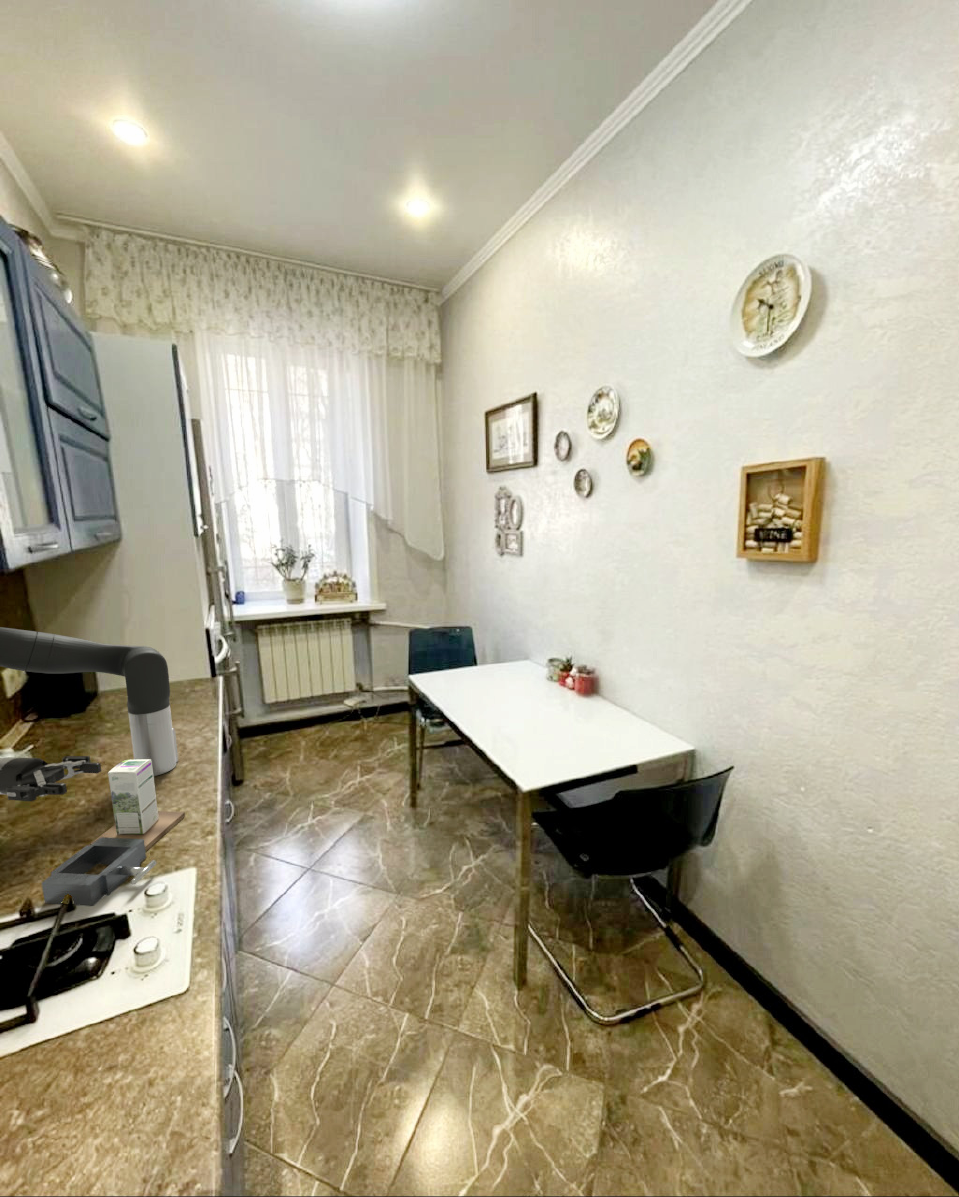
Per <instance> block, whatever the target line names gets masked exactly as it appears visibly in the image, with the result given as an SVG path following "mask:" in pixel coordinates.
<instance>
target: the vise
mask: <svg viewBox="0 0 959 1197" xmlns="http://www.w3.org/2000/svg"><path fill="white" fill-rule="evenodd" d="M146 858H147V851H145V844H144V839H128V838H107V837H101V838H99V839H98V840H97V841H96V842H94V843H93V844H92V845H90V844H89V845H88V844H87V845H85V846H84V847H83V848H81V849H80V850H79V851H77V852H76V853H75V854H73V855H71V857H69V858H68V859H67V860H66V861H64V862H62V863H61V864H60V865H59V866H57V867H56V868H55V869H53V870H52V871H51V872H50V874H51V875H49V876H48V877H47V878H45V880H43V881H42V882H41V887H42V894H43V901H44V904H50V905H51V904H54V905H62V904H61V902H62V901H63V899H64V897H65V895H67V894H69V895H71V896H72V898H73V901H74V904H75V905H74V906H87V907H94V906H96V905H95V904H97V903H98V902H100V901H101V899H102V898H104V897H105V896H110V895H111V894H113V892H114V891H116V890H117V889H118V888H119V887H120V886H121V885H122V884H123V883H124V882H126V881H127V879H128V878H129V877H131V876H134V877H133V878H132V879H131V880H130V884H131V885H133V886H134V885H136V884H137V883H138V882H139V881H140V880H141V879H142V878H143V877H144V876H146V875H147V874H148V873H149V871H151V870H152V869H153V868H154V867H155V866H156V865H157V861H156V860H155V859H153V860H151V861H150V862H149V863H148V864H146V866H145V867H141V863H142V862H143V861H144V860H145V859H146ZM97 865H103V866H104V865H108V866H107V867H106V868H104V869H103V870H102V871H101V872H100V873H99V874H87V873H88V872H89V871H90V870H91V869H92V868H94V867H96V866H97Z"/></svg>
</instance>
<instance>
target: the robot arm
mask: <svg viewBox="0 0 959 1197" xmlns="http://www.w3.org/2000/svg"><path fill="white" fill-rule="evenodd" d="M0 667H2V668H6V669H10V670H14V671H15V670H16V671H19V672H20V671H21V672H22V671H23V672H31V673H38V674H39V673H41V674H52V675H53V674H55V675H56V674H59V675H60V674H75V673H85V672H86V673H87V672H88V673H90V672H91V673H92V672H93V673H102V674H109V675H114V676H118V677H119V676H120V677H124V679H125V680H124V681H125V685H126V693H127V694H126V695H127V703H126V706H127V713H128V721H129V728H130V737H131V746H132V754H133V760H138V759H151V761H152V767H153V776H154V777H156V776H160V775H163V774H165V773H168V772H169V771H172V770H173V769H174V768H176V766H177V763H178V762H179V754H178V752H179V751H178V743H177V736H176V734H177V733H176V729H175V728H173V721H172V712H171V704H170V696H171V686H170V675H169V674H170V673H169V667H168V663H167V660H166V659H165V657H164V656H163V654H161V653H160V652H159V651H158V650H156V648H152V647H150V646H145V645H126V644H125V645H122V644H110V643H104V642H103V643H101V642H100V643H99V642H96V641H92V640H87V639H82V638H78V637H74V636H73V637H72V636H66V635H62V634H55V633H50V632H49V633H48V632H41V631H34V630H26V629H25V630H24V629H17V628H11V627H10V628H9V627H1V626H0ZM65 769H66V770H67V772H68V773H66V774H65ZM101 772H102V764H101V763H100V762H93V761H92V762H91V756H89V755H87V756H86V755H84V756H83V755H81V756H80V755H79V756H77V755H73V756H69V755H68V756H63V757H62V761H61V762H58V763H57V762H55V763H54V762H52V763H48V762H46V761H45V760H43V759H41V758H37V757H13V756H11V757H0V795H7V799H8V801H20V802H21V801H22V802H34V801H36V800H37V798H38V797H40V798H41V797H45V796H47V795H53V796H57V795H59V796H60V795H61V796H63V795H65V794H66V793H68V791H67V790H68V788H67V785H66V783H64V782H58V781H61V780H67V779H71V778H73V777H74V776H75V775H78V774H99V773H101Z"/></svg>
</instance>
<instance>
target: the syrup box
mask: <svg viewBox="0 0 959 1197" xmlns="http://www.w3.org/2000/svg"><path fill="white" fill-rule="evenodd" d="M107 777H108V782H109V789H110V796H111V802H112V804H111V805H112V811H113V818H114V825H116V832H117V835H133V834H144V833H145V832H146V831H148V830H149V829H150V828H151V827H152V826H153V825H154V824H155V823H156V822H157V821H158V820H159V815H158V811H159V809H158V803H157V796H156V795H157V794H156V787H155V776H153V767H152V761H151V759H138V760H134V759H125V760H122V761H121V762H120V763H118V764H116V765H115V766H114V767H113V768H111V769H110V770H109V771H108V772H107Z"/></svg>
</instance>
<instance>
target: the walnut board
mask: <svg viewBox="0 0 959 1197" xmlns="http://www.w3.org/2000/svg"><path fill="white" fill-rule="evenodd" d="M158 815H159V820H158V821H157V822H156V823H155V824H154V825H153V826H152V827H151V828H150V829H149V830H148V831H146V832H145V833H144V834H133V835H117V832H116V825H115V824H114V825H113V826H112V827H110V828H109V829H107V830H106V831H105V832H103V833H102V834H101V835H100V836H98V837H97V838H95V839H94V840H93V841H92V842H90V843H89V845H92V844H93V843H94V842H96V841H97V840H98V839H99V838H101V837H107V838H128V839H144V844H145V852H147V851H148V850H149V849H150V848H151V847H152V846H154V845H155V843H157V842H159V840H160V839H161V838H162V837H164V836H165V835H166V834H167V833H168V832H169V831H170V830H171V829H172V828H174V826H176V825H177V824H178V823H179V822H180V821H182V820H183V819H184V818H185V816H186V814H185V811H169V810H166V811H163V810H158Z"/></svg>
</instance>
